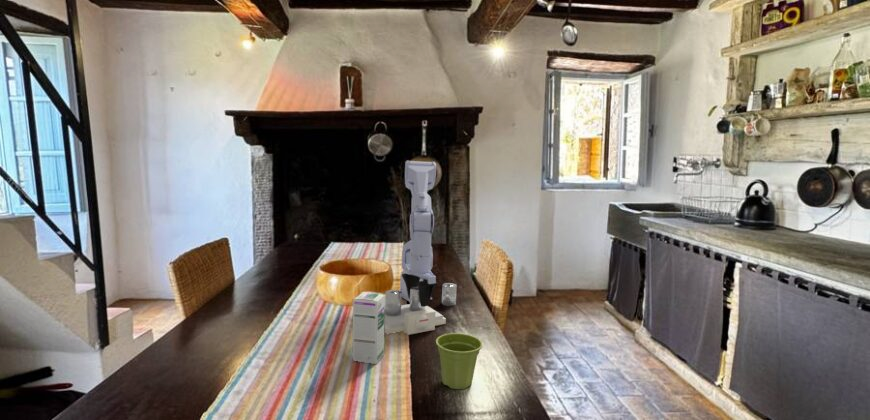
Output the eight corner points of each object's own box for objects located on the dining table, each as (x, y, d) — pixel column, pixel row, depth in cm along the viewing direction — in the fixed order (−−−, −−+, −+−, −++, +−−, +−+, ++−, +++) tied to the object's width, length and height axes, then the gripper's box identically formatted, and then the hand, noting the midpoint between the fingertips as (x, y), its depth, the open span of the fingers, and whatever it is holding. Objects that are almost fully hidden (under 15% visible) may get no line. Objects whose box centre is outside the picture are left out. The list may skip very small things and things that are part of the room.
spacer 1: (398, 310, 125) (398, 289, 124) (403, 315, 121) (404, 293, 120) (382, 311, 123) (383, 290, 122) (387, 317, 119) (388, 295, 118)
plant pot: (432, 371, 96) (434, 332, 95) (475, 371, 97) (477, 333, 96) (436, 394, 86) (438, 351, 85) (483, 394, 87) (486, 352, 86)
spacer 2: (420, 306, 129) (421, 285, 128) (427, 310, 125) (428, 290, 124) (406, 308, 127) (407, 287, 126) (414, 313, 123) (415, 291, 122)
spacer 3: (439, 302, 141) (440, 283, 140) (450, 300, 143) (451, 282, 142) (446, 306, 137) (447, 287, 136) (458, 304, 139) (459, 286, 139)
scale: (368, 318, 124) (368, 301, 123) (424, 309, 133) (424, 293, 133) (391, 338, 111) (391, 319, 111) (451, 327, 121) (452, 309, 120)
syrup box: (376, 365, 97) (378, 300, 95) (351, 361, 98) (352, 297, 97) (384, 354, 103) (386, 293, 101) (360, 350, 104) (362, 290, 102)
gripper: (395, 250, 128) (394, 296, 130) (420, 261, 116) (418, 312, 118) (417, 248, 132) (415, 293, 133) (443, 259, 120) (440, 308, 121)
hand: (418, 301), depth 126 cm, fingers open, 7 cm apart
